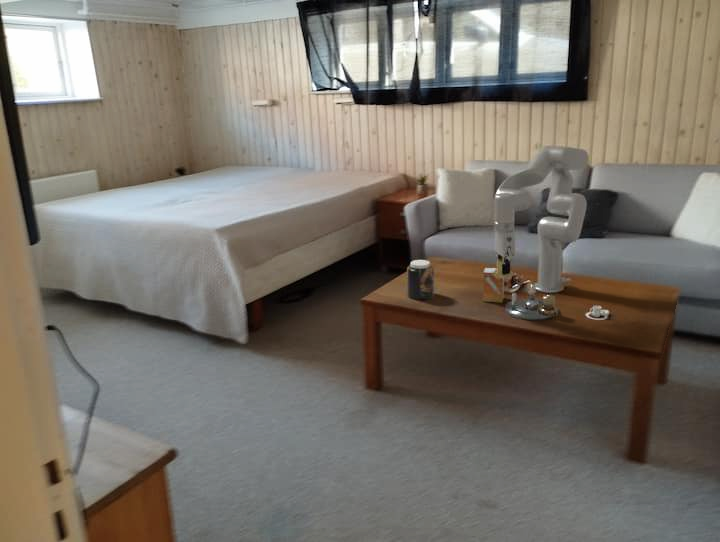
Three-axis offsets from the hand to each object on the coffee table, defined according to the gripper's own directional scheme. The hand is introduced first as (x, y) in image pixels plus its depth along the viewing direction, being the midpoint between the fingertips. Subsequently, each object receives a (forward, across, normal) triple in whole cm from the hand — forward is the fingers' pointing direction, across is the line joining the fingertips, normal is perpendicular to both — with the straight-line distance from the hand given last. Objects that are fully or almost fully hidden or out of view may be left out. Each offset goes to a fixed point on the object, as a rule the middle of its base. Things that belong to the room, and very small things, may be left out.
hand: (503, 271), depth 233 cm
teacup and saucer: (+18, -17, -34) cm, 42 cm away
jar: (+17, +27, +26) cm, 41 cm away
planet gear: (+2, 0, 0) cm, 2 cm away
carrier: (+17, -3, -11) cm, 20 cm away
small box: (+17, +13, -1) cm, 22 cm away
